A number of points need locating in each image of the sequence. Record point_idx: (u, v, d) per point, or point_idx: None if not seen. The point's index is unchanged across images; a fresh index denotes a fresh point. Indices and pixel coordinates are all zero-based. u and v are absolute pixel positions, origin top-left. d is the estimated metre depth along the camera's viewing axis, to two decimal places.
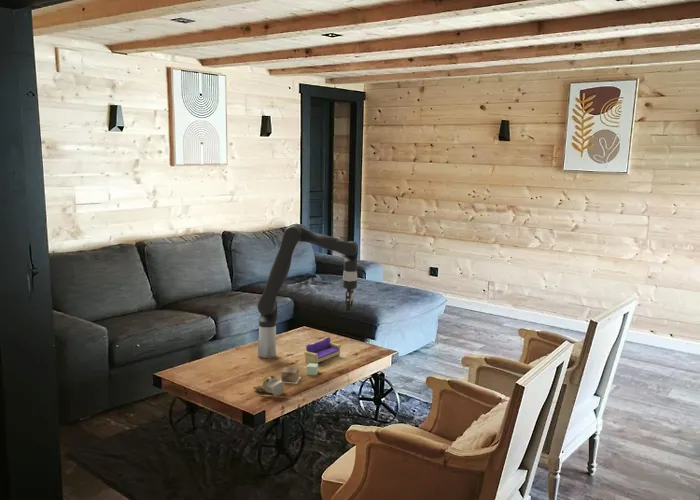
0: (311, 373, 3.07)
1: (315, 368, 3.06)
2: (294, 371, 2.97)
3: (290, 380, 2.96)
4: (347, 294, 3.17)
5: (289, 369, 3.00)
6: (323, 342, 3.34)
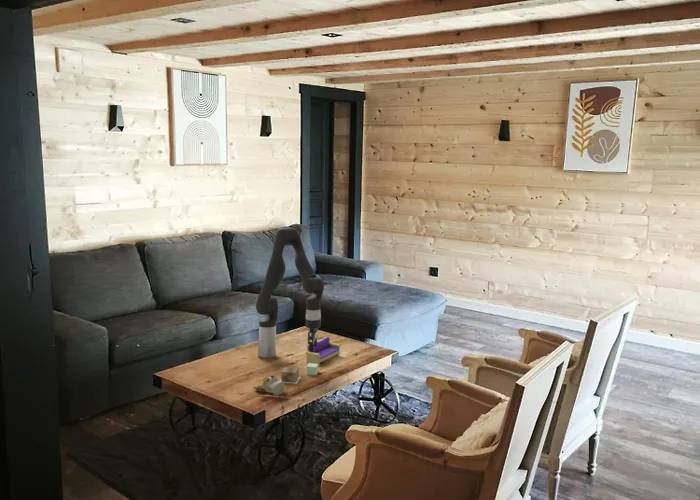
0: (311, 373, 3.07)
1: (315, 368, 3.06)
2: (294, 371, 2.97)
3: (290, 380, 2.96)
4: (309, 334, 2.99)
5: (289, 369, 3.00)
6: (323, 342, 3.34)
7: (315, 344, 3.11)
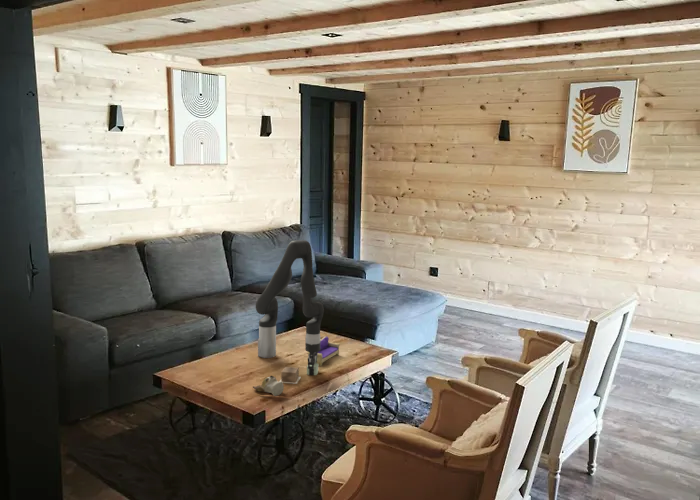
0: None
1: (315, 368, 3.06)
2: (294, 371, 2.97)
3: (290, 380, 2.96)
4: (309, 360, 3.01)
5: (289, 369, 3.00)
6: (323, 342, 3.34)
7: None
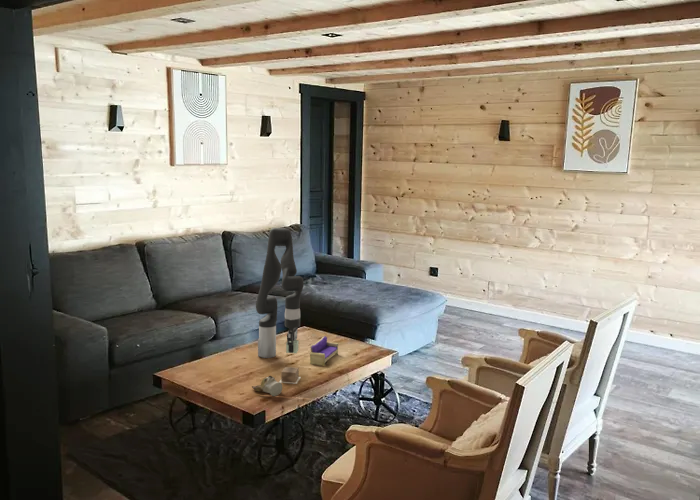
0: None
1: (295, 344, 2.94)
2: (294, 371, 2.97)
3: (290, 380, 2.96)
4: (288, 336, 2.90)
5: (289, 369, 3.00)
6: (322, 342, 3.35)
7: None
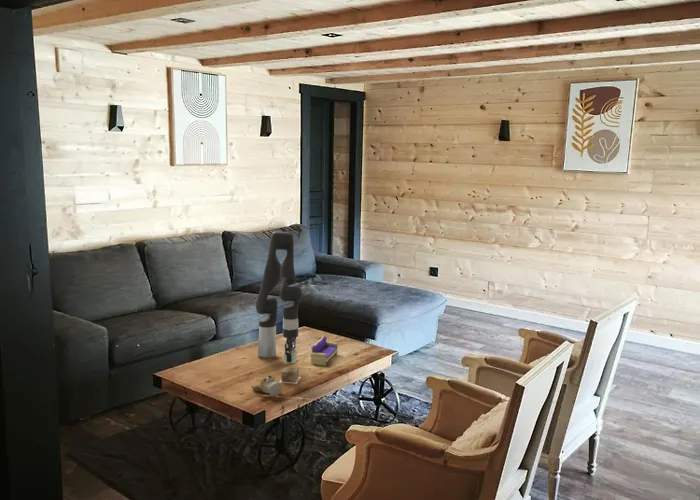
0: None
1: (293, 354, 2.95)
2: (294, 371, 2.97)
3: (290, 380, 2.96)
4: (286, 346, 2.90)
5: (289, 369, 3.00)
6: (322, 342, 3.35)
7: None
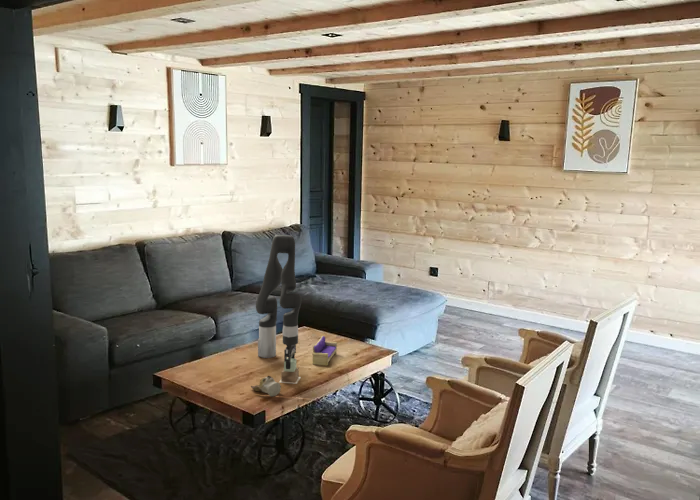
0: None
1: (293, 363, 2.95)
2: (294, 371, 2.97)
3: (290, 380, 2.96)
4: (286, 352, 2.90)
5: None
6: (322, 342, 3.35)
7: None
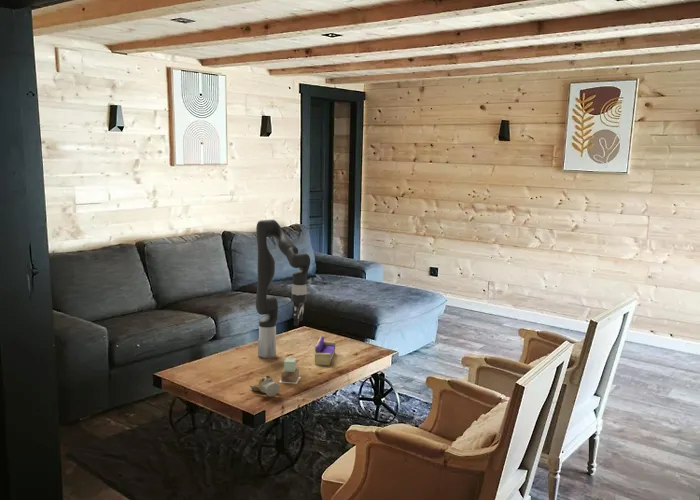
0: (289, 368, 2.96)
1: (293, 363, 2.95)
2: (294, 371, 2.97)
3: (290, 380, 2.96)
4: (294, 309, 3.02)
5: None
6: (322, 341, 3.35)
7: (301, 319, 3.14)
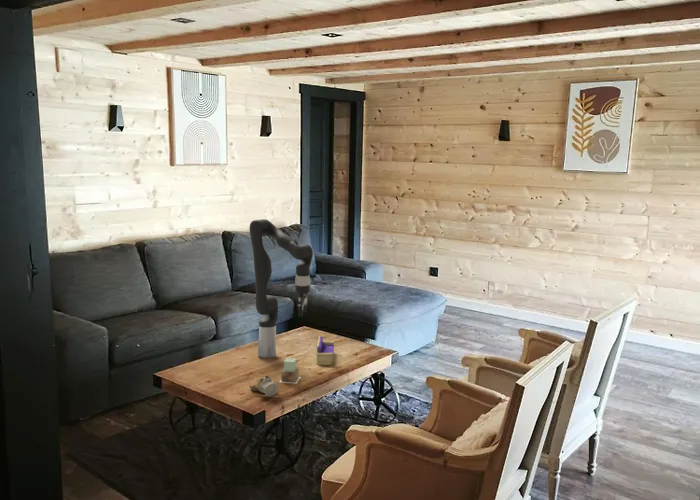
0: (289, 368, 2.96)
1: (293, 363, 2.95)
2: (294, 371, 2.97)
3: (290, 380, 2.96)
4: (299, 299, 3.08)
5: None
6: (322, 341, 3.35)
7: (304, 310, 3.20)
